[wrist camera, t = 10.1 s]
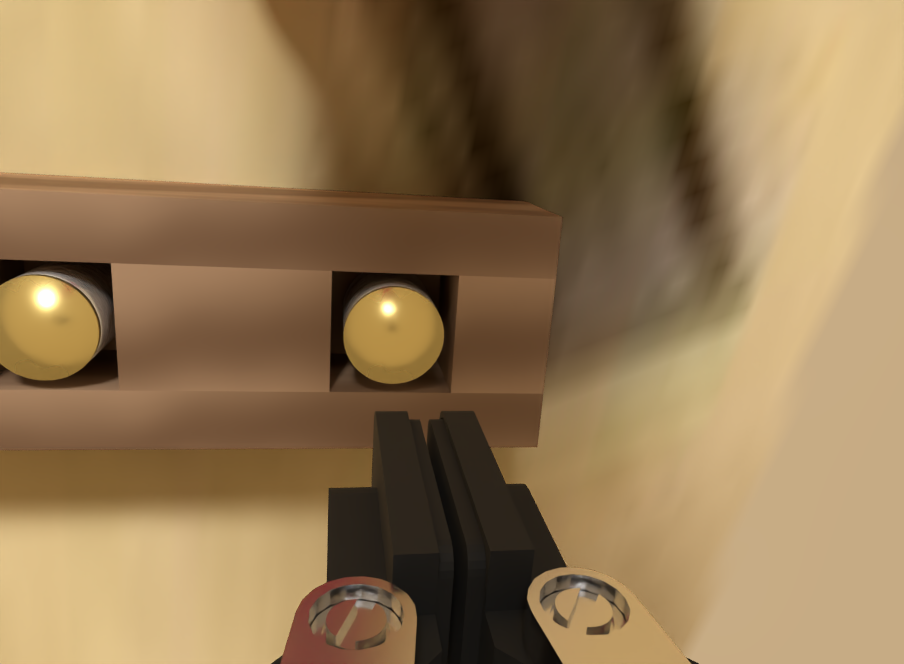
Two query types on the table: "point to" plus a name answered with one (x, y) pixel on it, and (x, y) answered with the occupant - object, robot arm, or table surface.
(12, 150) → the table surface
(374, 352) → the peg
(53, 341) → the peg
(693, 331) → the table surface
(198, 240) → the collar block
